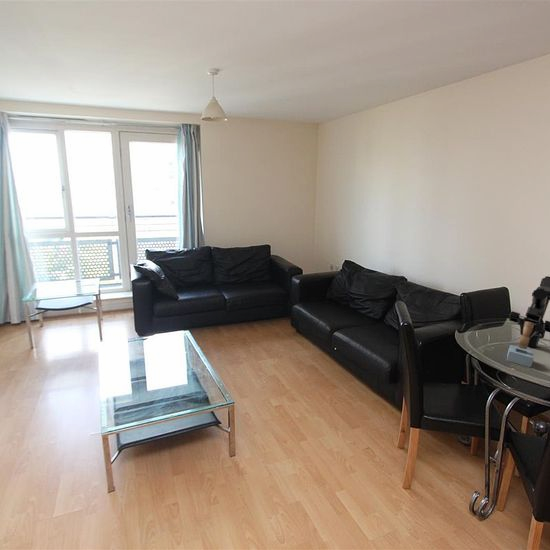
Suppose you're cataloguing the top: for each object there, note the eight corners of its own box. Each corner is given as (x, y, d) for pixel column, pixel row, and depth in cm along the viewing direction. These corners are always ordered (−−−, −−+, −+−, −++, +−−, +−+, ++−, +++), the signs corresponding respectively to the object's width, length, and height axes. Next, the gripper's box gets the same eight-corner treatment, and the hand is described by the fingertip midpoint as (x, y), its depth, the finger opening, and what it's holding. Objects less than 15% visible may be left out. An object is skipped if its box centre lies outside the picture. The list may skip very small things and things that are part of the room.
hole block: (507, 353, 192) (510, 344, 191) (530, 360, 187) (533, 351, 185) (506, 360, 184) (509, 351, 182) (530, 367, 179) (533, 358, 177)
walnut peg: (522, 345, 186) (529, 321, 182) (528, 349, 182) (536, 324, 179) (516, 345, 185) (523, 321, 182) (522, 349, 181) (529, 324, 178)
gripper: (515, 295, 187) (503, 320, 182) (560, 307, 174) (549, 334, 169) (515, 307, 194) (504, 332, 189) (558, 319, 182) (547, 345, 177)
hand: (525, 335), depth 181 cm, fingers closed on walnut peg, 4 cm apart
